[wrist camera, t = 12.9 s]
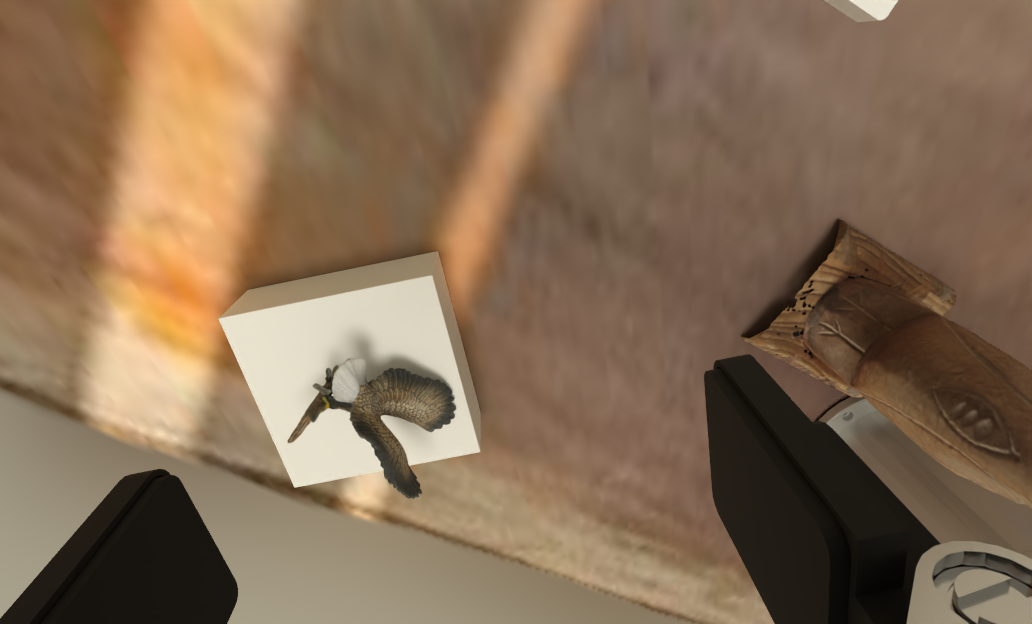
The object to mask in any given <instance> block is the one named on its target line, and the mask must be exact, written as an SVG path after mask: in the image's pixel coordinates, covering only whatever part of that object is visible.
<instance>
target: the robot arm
mask: <svg viewBox="0 0 1032 624" xmlns="http://www.w3.org/2000/svg"><path fill="white" fill-rule="evenodd" d="M704 383H705V397H706V410H707V424H708V438H709V452H710V466H711V480H712V492H713V498H714V502H715V506H716V509H717V511H718V514H719V516H720V518H721V520H722V522H723V524H724V526H725V527H726V529H727V531H728V533H729V535H730V537H731V539H732V541H733V543H734V545H735V547H736V549H737V551H738V553H739V555H740V557H741V559H742V561H743V563H744V565H745V566H746V568H747V570H748V572H749V574H750V576H751V578H752V580H753V582H754V584H755V586H756V588H757V590H758V592H759V594H760V596H761V598H762V600H763V602H764V604H765V605H766V607H767V609H768V611H769V613H770V615H771V617H772V619H773V621H774V623H775V624H1032V509H1031V508H1030V507H1029V506H1027V505H1026V504H1018V503H1016V502H1014V501H1013V500H1011V499H1008V498H1006V497H1003V496H1001V495H999V494H997V493H994V492H991V491H989V490H987V489H985V488H983V487H982V486H980V485H978V484H976V483H974V482H973V481H971V480H968V479H966V478H963V477H961V476H958V475H956V474H955V473H954V472H952V471H950V470H949V469H947V468H945V467H944V466H943V465H942V464H940V463H939V462H938V461H936V460H935V459H933V458H932V457H931V456H930V455H929V454H928V453H926V452H924V451H923V450H922V449H921V448H920V447H919V446H918V445H917V444H916V443H915V442H914V441H913V440H911V439H910V438H909V437H908V436H906V434H904V433H903V432H902V431H901V430H900V429H899V428H898V427H897V426H896V425H895V424H893V423H892V422H891V421H890V420H889V419H888V418H886V417H885V416H884V415H883V414H882V413H880V412H879V411H878V410H877V409H876V408H875V407H874V406H873V405H872V404H870V403H869V401H868V400H866V398H864V397H859V398H856V397H850V398H848V399H846V400H844V401H842V402H840V403H839V404H837V405H836V406H835V407H833V408H832V409H830V410H829V411H828V412H827V413H826V414H825V415H823V416H822V417H821V418H820V419H819V420H818V421H815V422H811V421H810V420H809V419H808V417H807V416H806V415H805V414H804V413H803V412H802V411H801V410H800V408H799V407H798V406H797V405H796V404H795V403H794V402H793V401H792V400H791V398H790V397H789V396H788V395H787V394H786V393H785V392H784V391H783V390H782V388H781V387H780V386H779V385H778V384H777V383H776V382H775V381H774V380H773V378H772V377H771V376H770V375H769V374H768V373H767V372H766V371H765V370H764V368H763V367H762V366H761V365H760V364H759V363H758V362H757V361H756V360H755V358H754V357H752V356H751V355H748V354H747V355H742V356H737V357H731V358H726V359H721V360H716V361H715V363H714V370H709V371H706V372H705V374H704ZM237 597H238V588H237V583H236V580H235V578H234V577H233V575H232V573H231V571H230V569H229V567H228V566H227V564H226V562H225V560H224V559H223V557H222V555H221V553H220V551H219V549H218V548H217V546H216V544H215V542H214V540H213V539H212V537H211V535H210V533H209V531H208V530H207V528H206V526H205V524H204V522H203V520H202V518H201V517H200V515H199V513H198V511H197V509H196V508H195V506H194V504H193V502H192V500H191V499H190V497H189V495H188V493H187V491H186V490H185V488H184V486H183V484H182V482H181V481H180V479H179V478H178V477H176V476H174V475H170V474H169V472H167V471H166V470H163V469H157V470H152V471H147V472H142V473H136V474H131V475H128V476H125V477H124V478H123V479H122V480H120V481H119V482H118V484H117V485H116V486H115V487H114V488H113V489H112V490H111V492H110V493H109V494H108V495H107V496H106V497H105V498H104V500H103V501H102V502H101V503H100V504H99V505H98V507H97V508H96V509H95V510H94V511H93V512H92V513H91V515H90V516H89V517H88V518H87V519H86V520H85V522H84V523H83V524H82V525H81V526H80V527H79V528H78V530H77V531H76V532H75V533H74V534H73V536H72V537H71V538H70V539H69V540H68V541H67V542H66V544H65V545H64V546H63V547H62V548H61V549H60V550H59V551H58V553H57V554H56V555H55V556H54V557H53V558H52V560H51V561H50V562H49V563H48V564H47V566H46V567H45V568H44V569H43V570H42V571H41V572H40V573H39V575H38V576H37V577H36V578H35V579H34V580H33V582H32V583H31V584H30V585H29V586H28V587H27V588H26V590H25V591H24V592H23V593H22V594H21V595H20V597H19V598H18V599H17V600H16V601H15V602H14V603H13V605H12V606H11V607H10V608H9V609H8V610H7V612H6V613H5V614H4V615H3V616H2V617H1V618H0V624H227V622H228V620H229V618H230V616H231V614H232V611H233V609H234V607H235V605H236V602H237Z"/></svg>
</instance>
